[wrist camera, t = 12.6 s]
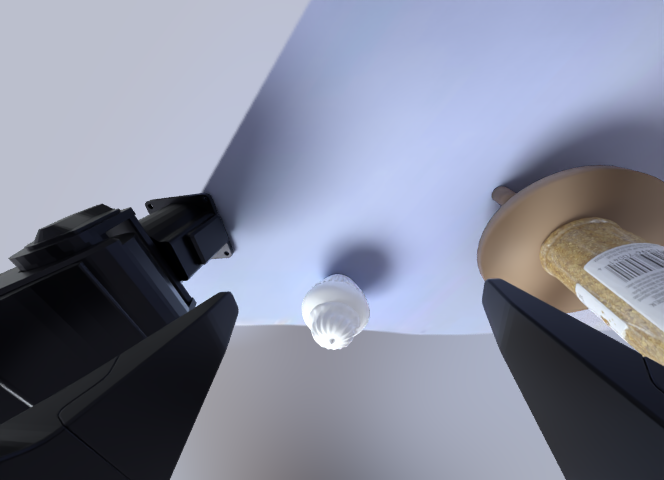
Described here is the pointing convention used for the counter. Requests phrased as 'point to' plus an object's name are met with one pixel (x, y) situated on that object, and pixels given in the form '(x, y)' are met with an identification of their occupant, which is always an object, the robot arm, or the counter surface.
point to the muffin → (335, 311)
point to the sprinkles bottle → (612, 278)
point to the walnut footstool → (564, 223)
